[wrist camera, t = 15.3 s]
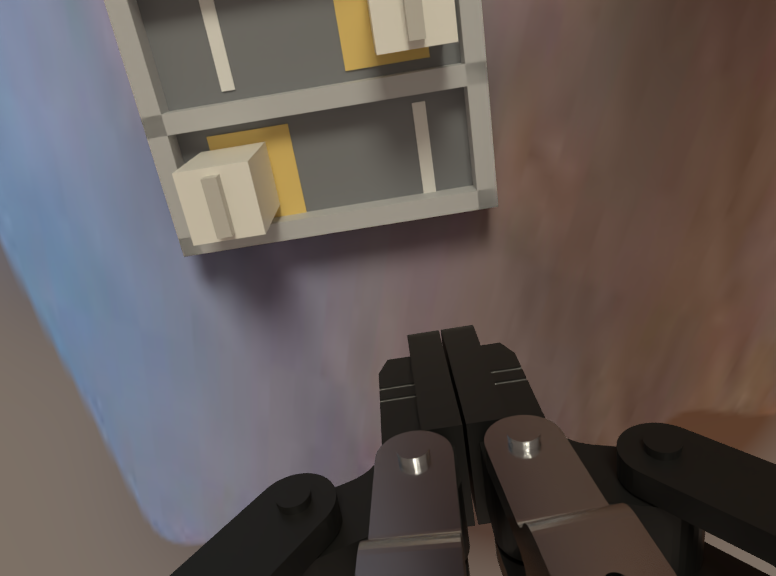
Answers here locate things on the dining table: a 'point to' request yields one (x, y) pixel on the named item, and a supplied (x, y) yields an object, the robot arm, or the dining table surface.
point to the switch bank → (313, 109)
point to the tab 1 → (227, 193)
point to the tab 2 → (411, 24)
